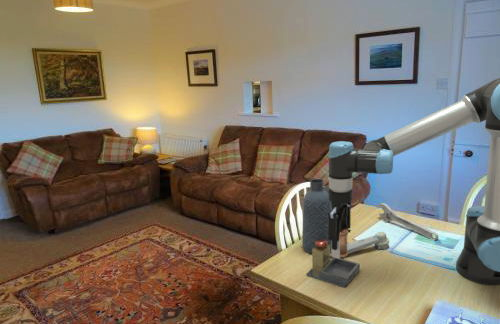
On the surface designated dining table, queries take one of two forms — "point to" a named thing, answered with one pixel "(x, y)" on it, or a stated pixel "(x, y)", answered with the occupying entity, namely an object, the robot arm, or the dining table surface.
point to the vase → (315, 215)
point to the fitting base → (331, 266)
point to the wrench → (404, 221)
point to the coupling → (343, 242)
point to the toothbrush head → (369, 243)
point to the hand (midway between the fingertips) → (339, 253)
